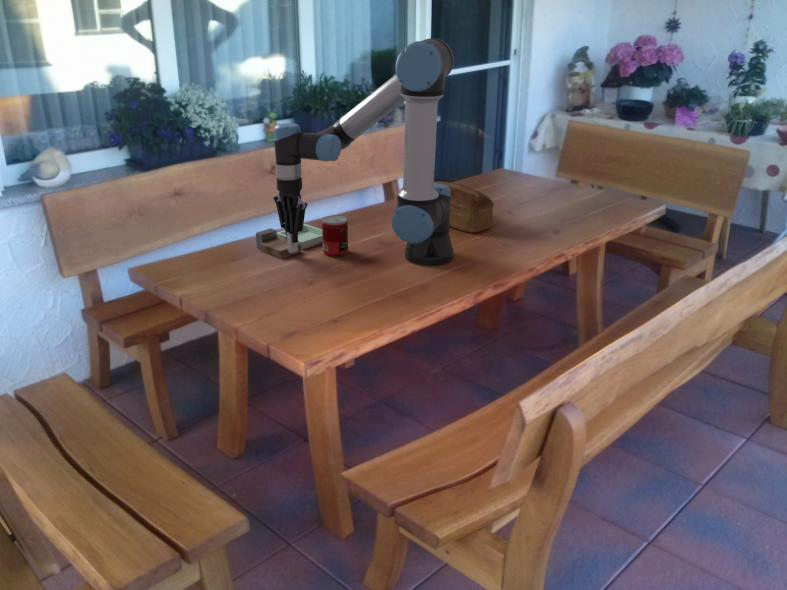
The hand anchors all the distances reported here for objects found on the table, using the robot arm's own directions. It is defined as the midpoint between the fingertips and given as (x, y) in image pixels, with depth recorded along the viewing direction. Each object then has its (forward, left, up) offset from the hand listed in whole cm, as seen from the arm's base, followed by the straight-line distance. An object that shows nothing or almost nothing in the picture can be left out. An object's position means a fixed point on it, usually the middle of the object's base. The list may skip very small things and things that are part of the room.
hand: (292, 251), depth 232 cm
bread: (-15, -60, -2) cm, 62 cm away
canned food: (-7, -11, -2) cm, 13 cm away
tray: (+9, -12, -1) cm, 15 cm away
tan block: (+6, 0, -2) cm, 6 cm away
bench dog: (+13, 0, -1) cm, 13 cm away
